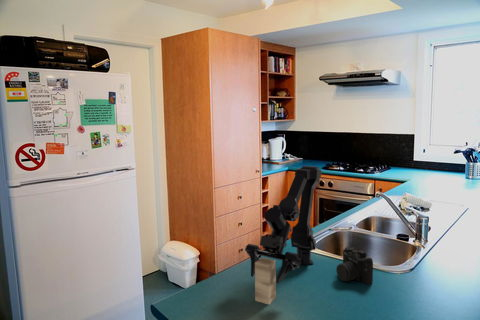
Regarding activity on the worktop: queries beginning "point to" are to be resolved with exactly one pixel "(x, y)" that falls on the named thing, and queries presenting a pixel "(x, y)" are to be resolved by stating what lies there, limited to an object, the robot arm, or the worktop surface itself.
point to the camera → (355, 266)
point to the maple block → (265, 280)
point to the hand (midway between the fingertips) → (264, 279)
